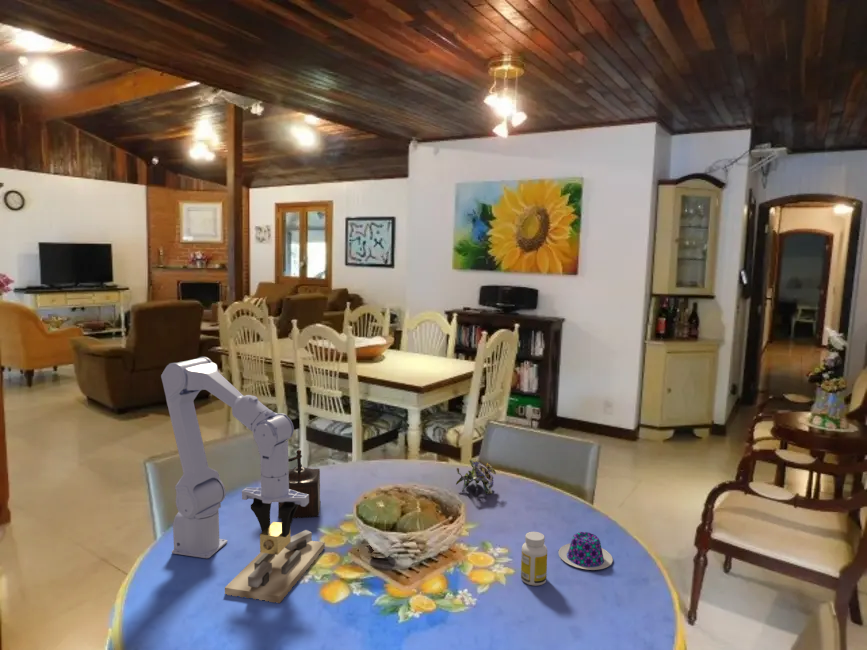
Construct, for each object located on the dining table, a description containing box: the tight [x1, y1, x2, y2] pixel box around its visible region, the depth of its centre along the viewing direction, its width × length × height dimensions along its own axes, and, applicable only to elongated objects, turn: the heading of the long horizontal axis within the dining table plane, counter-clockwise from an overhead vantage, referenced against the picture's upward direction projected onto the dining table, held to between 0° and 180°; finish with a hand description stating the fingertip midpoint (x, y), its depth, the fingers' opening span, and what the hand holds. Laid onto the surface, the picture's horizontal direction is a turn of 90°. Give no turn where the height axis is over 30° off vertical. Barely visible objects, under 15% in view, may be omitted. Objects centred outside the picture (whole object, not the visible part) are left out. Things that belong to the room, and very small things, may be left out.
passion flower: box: [455, 458, 497, 496], centre depth 170 cm, size 11×11×12 cm
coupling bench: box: [224, 529, 326, 604], centre depth 128 cm, size 12×22×4 cm, turn 167°
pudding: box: [558, 531, 614, 571], centre depth 135 cm, size 12×12×5 cm
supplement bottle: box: [520, 531, 548, 587], centre depth 125 cm, size 5×5×10 cm
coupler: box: [259, 521, 292, 555], centre depth 126 cm, size 4×7×4 cm, turn 168°
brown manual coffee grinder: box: [277, 449, 322, 519], centre depth 156 cm, size 16×11×18 cm
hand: (276, 533), depth 127 cm, fingers closed on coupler, 4 cm apart
